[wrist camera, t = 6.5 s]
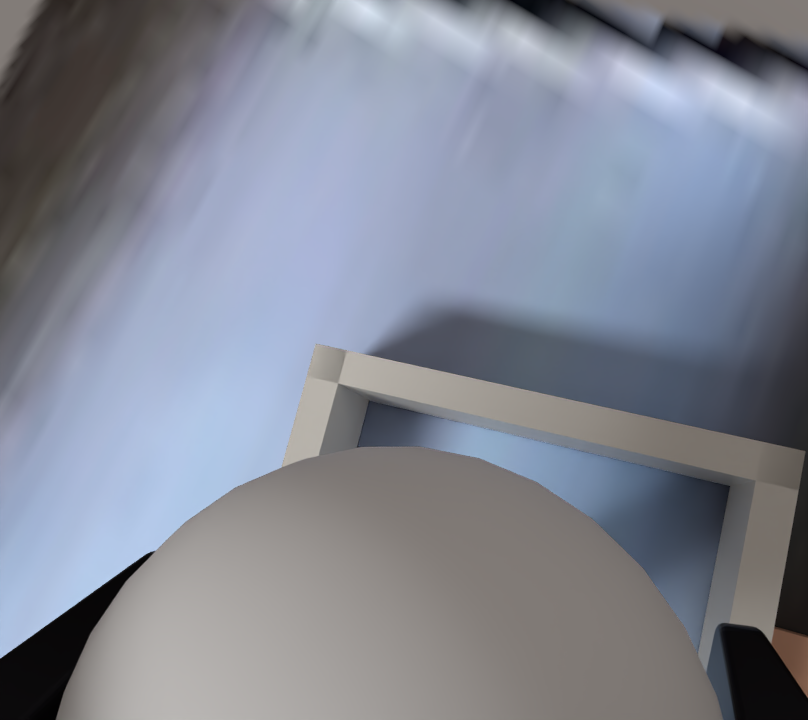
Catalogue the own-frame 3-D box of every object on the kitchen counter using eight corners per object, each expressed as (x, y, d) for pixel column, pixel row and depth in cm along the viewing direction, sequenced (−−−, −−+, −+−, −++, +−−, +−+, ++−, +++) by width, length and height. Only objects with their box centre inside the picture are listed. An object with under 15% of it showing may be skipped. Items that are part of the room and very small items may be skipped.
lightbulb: (288, 572, 16) (-269, 660, 5) (547, 432, 15) (480, 230, 5) (420, 876, 14) (-23, 1865, 4) (717, 731, 14) (1181, 1412, 3)
